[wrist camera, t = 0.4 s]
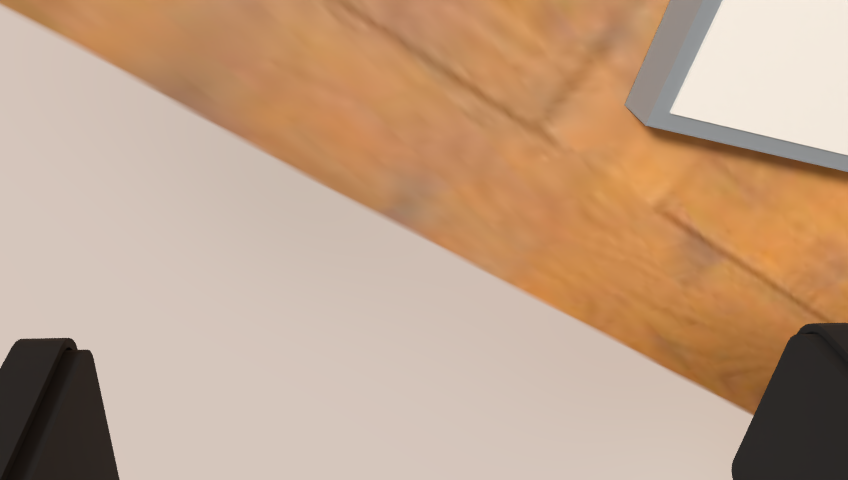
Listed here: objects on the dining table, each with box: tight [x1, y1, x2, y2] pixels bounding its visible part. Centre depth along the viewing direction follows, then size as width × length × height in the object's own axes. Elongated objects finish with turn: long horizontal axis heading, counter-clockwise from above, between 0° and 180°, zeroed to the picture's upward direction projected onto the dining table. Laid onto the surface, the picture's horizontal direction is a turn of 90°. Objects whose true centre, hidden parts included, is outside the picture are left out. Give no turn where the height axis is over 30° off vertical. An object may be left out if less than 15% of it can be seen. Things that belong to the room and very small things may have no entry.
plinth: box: [625, 0, 848, 172], centre depth 38 cm, size 14×18×3 cm
